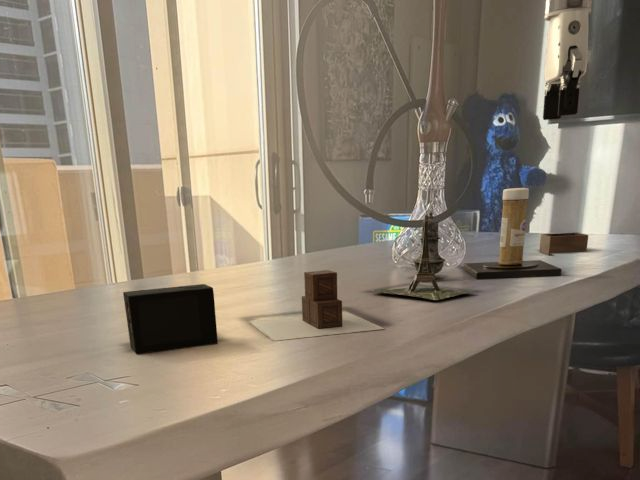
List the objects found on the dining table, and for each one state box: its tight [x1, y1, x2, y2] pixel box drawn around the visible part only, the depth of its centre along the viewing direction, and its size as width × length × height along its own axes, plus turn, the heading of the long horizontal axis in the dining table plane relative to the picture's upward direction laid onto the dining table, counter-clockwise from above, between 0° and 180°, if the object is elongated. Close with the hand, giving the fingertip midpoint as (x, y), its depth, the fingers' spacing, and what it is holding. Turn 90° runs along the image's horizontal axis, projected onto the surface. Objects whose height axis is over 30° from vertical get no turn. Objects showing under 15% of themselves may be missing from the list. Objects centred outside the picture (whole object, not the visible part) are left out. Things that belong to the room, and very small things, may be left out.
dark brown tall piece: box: [412, 211, 446, 283], centre depth 127 cm, size 6×6×12 cm
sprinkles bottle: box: [498, 187, 530, 265], centre depth 130 cm, size 5×5×14 cm
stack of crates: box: [247, 269, 386, 342], centre depth 93 cm, size 15×15×7 cm
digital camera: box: [122, 283, 219, 355], centre depth 86 cm, size 10×5×7 cm, turn 110°
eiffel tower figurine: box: [372, 206, 473, 301], centre depth 111 cm, size 15×10×13 cm
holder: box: [538, 232, 589, 256], centre depth 158 cm, size 8×8×4 cm
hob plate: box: [463, 259, 562, 280], centre depth 133 cm, size 15×15×2 cm
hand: (559, 117), depth 127 cm, fingers open, 9 cm apart
